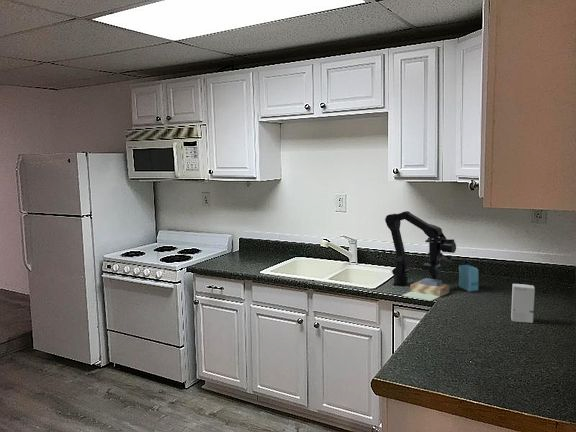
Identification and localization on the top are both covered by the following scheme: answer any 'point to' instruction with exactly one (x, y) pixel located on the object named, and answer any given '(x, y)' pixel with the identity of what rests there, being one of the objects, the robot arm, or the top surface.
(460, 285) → the data package
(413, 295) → the mat
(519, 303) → the skincare box
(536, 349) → the top surface
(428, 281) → the block
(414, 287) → the beige shallow box
